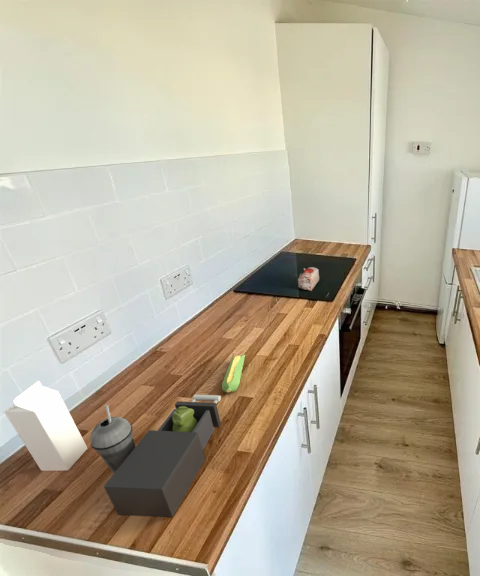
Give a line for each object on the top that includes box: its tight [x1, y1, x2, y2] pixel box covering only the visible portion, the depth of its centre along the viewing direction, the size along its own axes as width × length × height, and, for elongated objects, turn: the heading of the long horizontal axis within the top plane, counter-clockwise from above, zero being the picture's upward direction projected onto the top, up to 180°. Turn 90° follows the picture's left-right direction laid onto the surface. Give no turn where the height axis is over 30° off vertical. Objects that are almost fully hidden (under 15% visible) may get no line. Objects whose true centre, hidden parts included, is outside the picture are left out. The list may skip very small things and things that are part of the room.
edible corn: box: [221, 353, 246, 393], centre depth 106 cm, size 5×20×5 cm, turn 12°
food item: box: [297, 266, 320, 292], centre depth 168 cm, size 14×8×10 cm, turn 173°
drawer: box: [157, 394, 222, 451], centre depth 84 cm, size 18×10×8 cm, turn 179°
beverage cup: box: [89, 404, 136, 475], centre depth 72 cm, size 7×7×20 cm
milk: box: [4, 380, 88, 472], centre depth 73 cm, size 6×6×22 cm
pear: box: [172, 406, 198, 432], centre depth 81 cm, size 6×5×10 cm
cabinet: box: [103, 429, 206, 518], centre depth 72 cm, size 13×11×9 cm
